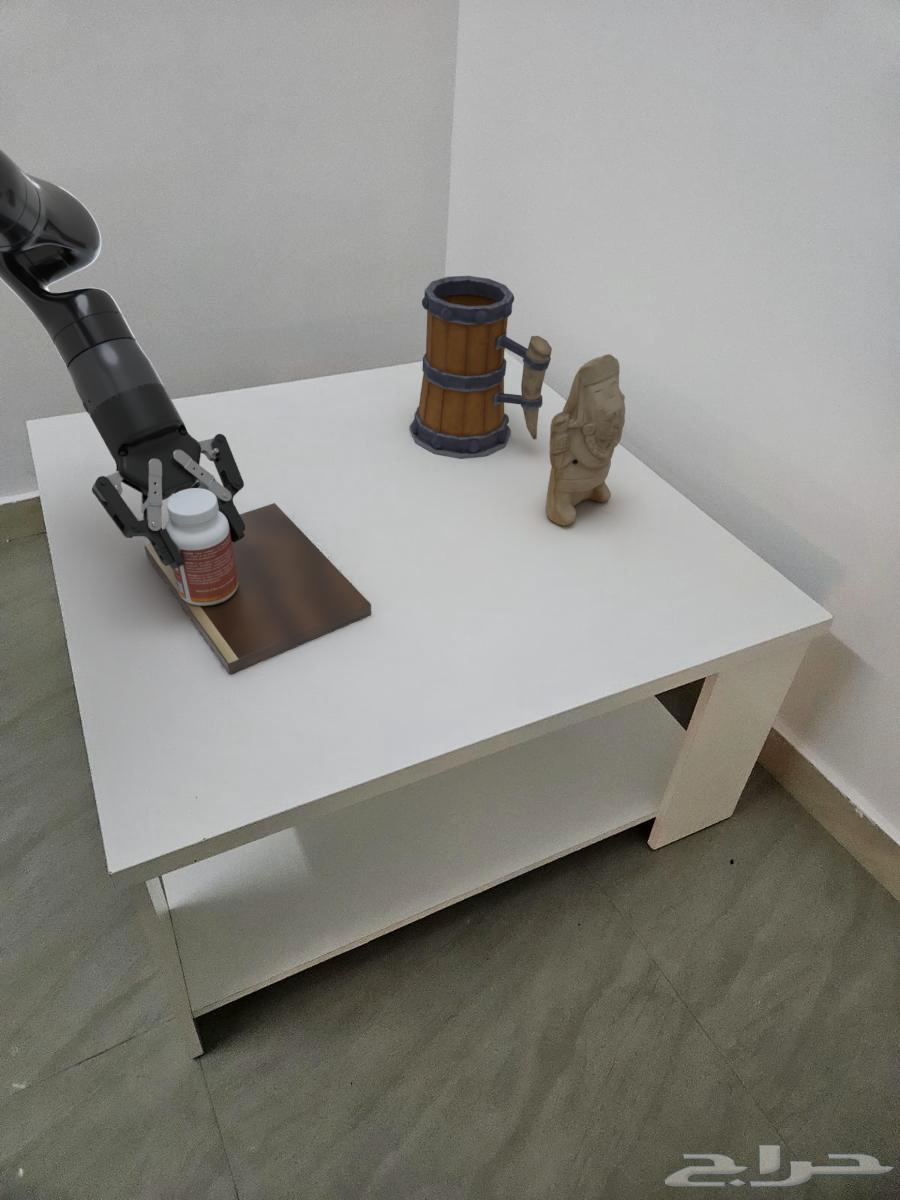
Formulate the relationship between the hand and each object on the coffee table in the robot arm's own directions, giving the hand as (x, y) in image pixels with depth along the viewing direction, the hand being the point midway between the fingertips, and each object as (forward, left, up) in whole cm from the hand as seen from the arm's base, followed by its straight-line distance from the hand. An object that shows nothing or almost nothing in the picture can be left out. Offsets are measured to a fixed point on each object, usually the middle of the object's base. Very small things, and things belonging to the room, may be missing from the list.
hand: (209, 552), depth 81 cm
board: (+5, +2, -7) cm, 9 cm away
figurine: (+45, -6, -8) cm, 46 cm away
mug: (+45, +15, -8) cm, 48 cm away
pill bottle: (0, +2, -6) cm, 6 cm away
